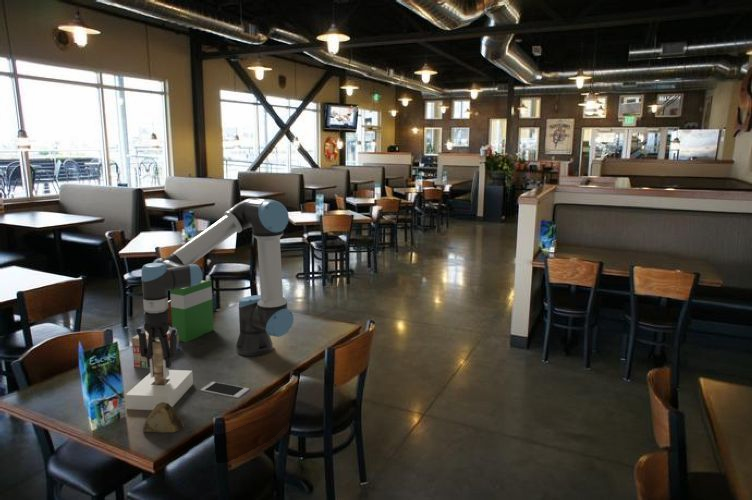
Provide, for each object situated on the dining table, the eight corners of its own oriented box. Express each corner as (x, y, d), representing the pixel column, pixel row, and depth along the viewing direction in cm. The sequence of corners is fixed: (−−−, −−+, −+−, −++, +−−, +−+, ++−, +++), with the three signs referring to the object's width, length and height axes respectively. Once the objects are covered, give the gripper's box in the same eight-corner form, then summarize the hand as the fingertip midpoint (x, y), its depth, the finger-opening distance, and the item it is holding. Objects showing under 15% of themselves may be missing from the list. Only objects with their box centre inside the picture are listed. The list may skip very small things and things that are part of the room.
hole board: (193, 383, 189) (192, 370, 188) (168, 410, 169) (168, 396, 168) (154, 382, 190) (154, 369, 189) (126, 409, 170) (125, 394, 169)
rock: (131, 428, 154) (156, 432, 150) (142, 399, 158) (166, 402, 154) (158, 435, 163) (182, 439, 159) (168, 407, 167) (191, 410, 162)
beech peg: (168, 383, 181) (166, 339, 178) (163, 388, 177) (161, 343, 174) (157, 383, 181) (155, 339, 178) (152, 388, 177) (149, 343, 174)
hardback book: (201, 327, 247) (198, 278, 243) (213, 330, 244) (211, 280, 240) (172, 339, 231) (169, 286, 227) (185, 342, 229) (183, 289, 224)
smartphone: (238, 399, 179) (238, 396, 179) (200, 391, 184) (200, 389, 184) (249, 390, 186) (249, 388, 185) (212, 383, 190) (212, 381, 190)
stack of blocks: (166, 347, 223) (164, 319, 220) (179, 348, 221) (178, 321, 219) (133, 367, 202) (131, 337, 200) (148, 369, 201) (146, 338, 198)
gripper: (125, 312, 170) (130, 379, 175) (176, 314, 170) (179, 382, 174) (136, 305, 178) (141, 370, 182) (185, 307, 177) (188, 372, 181)
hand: (160, 376), depth 178 cm, fingers closed on beech peg, 4 cm apart
